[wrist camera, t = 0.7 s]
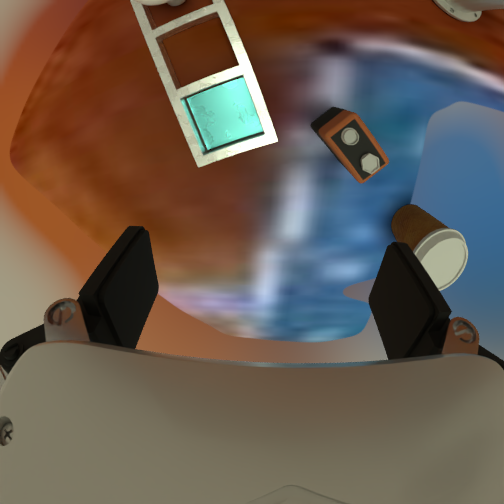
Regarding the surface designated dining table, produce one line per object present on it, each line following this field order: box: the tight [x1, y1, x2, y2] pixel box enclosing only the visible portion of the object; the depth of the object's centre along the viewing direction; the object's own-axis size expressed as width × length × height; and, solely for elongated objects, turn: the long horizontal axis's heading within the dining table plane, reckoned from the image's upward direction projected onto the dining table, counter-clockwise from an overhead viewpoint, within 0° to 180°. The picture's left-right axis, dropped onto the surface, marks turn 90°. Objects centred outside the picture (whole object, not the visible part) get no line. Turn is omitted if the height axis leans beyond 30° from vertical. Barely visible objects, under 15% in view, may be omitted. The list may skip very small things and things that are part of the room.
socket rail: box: [130, 0, 278, 167], centre depth 26 cm, size 10×29×2 cm, turn 19°
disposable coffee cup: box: [391, 204, 468, 291], centre depth 33 cm, size 10×10×12 cm
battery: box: [311, 107, 389, 183], centre depth 28 cm, size 4×7×10 cm, turn 44°
